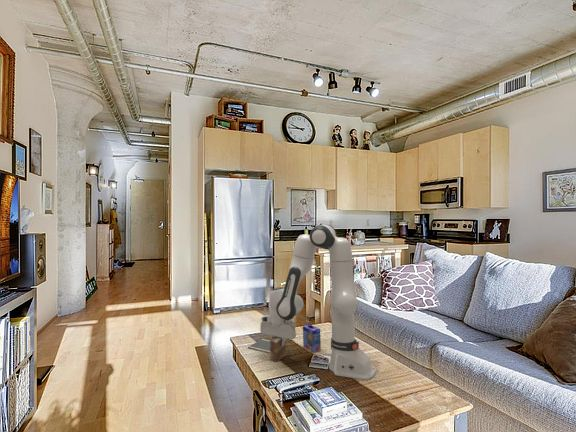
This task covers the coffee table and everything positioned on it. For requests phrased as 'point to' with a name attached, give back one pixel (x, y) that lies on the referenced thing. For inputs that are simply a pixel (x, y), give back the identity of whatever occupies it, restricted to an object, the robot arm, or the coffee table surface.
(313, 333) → the ink cartridge box
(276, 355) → the slab
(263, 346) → the mat
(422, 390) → the coffee table surface
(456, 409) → the coffee table surface
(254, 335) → the coffee table surface
